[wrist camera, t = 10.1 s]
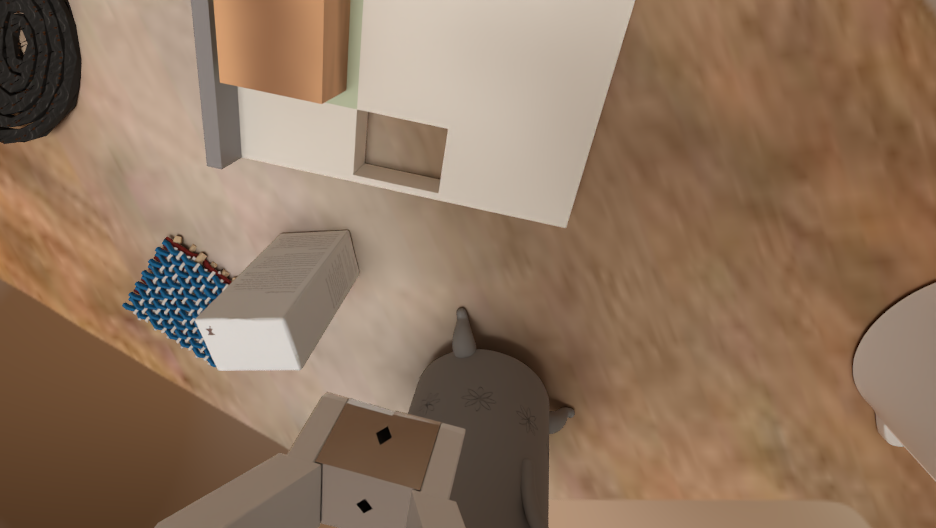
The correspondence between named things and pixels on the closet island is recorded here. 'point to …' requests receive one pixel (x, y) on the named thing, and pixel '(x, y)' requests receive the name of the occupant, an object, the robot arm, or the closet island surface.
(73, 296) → the closet island surface
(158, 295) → the woven mat
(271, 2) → the block
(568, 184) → the trap deck
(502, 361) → the mug
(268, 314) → the skincare box
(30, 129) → the hairbrush
